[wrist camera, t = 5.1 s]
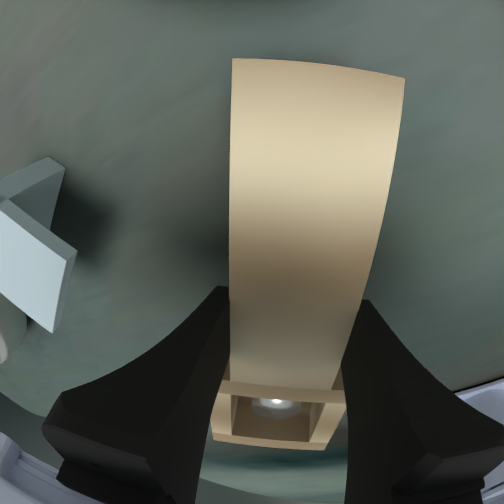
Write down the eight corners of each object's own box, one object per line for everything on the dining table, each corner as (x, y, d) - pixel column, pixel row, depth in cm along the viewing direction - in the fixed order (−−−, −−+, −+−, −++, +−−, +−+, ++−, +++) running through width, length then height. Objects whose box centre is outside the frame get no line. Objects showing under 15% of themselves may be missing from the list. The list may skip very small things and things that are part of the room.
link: (323, 393, 18) (324, 450, 15) (225, 384, 19) (213, 439, 15) (394, 83, 9) (441, 88, 6) (224, 65, 10) (190, 59, 6)
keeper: (126, 207, 15) (66, 260, 10) (100, 274, 17) (52, 333, 13) (48, 156, 14) (-23, 190, 10) (32, 226, 16) (-24, 270, 12)
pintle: (304, 355, 18) (303, 418, 14) (265, 358, 19) (257, 420, 15) (299, 326, 17) (298, 391, 13) (256, 330, 18) (246, 394, 14)
